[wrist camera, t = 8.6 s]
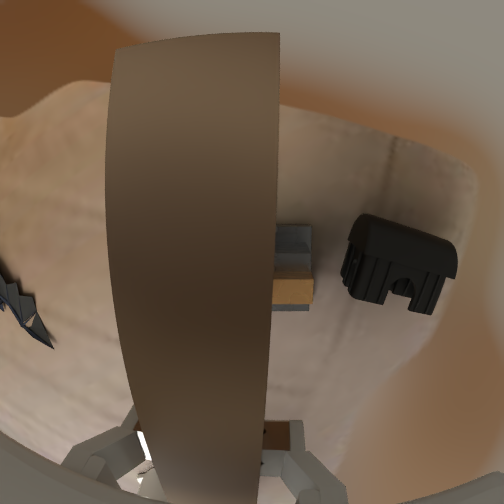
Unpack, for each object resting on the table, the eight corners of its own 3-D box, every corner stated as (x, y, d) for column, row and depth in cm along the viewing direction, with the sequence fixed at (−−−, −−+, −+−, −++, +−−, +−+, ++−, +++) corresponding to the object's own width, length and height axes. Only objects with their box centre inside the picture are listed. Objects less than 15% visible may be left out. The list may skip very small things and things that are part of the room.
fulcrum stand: (307, 300, 31) (316, 337, 23) (186, 298, 32) (161, 332, 24) (310, 224, 29) (321, 240, 21) (181, 225, 30) (150, 240, 22)
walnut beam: (180, 99, 10) (115, 49, 5) (277, 97, 9) (279, 32, 5) (206, 502, 15) (194, 555, 10) (255, 507, 15) (250, 562, 10)
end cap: (433, 234, 28) (466, 248, 22) (413, 294, 30) (440, 319, 23) (353, 208, 29) (374, 217, 22) (334, 275, 30) (348, 299, 24)
